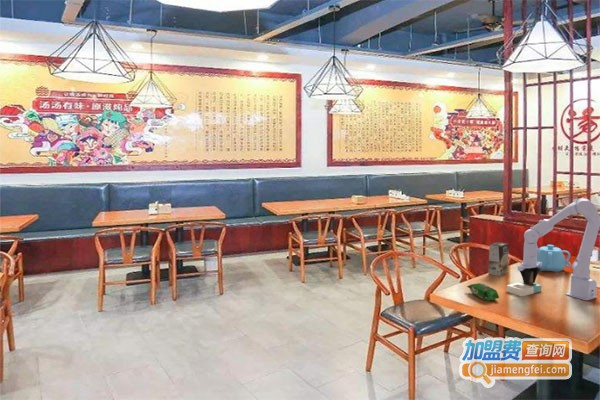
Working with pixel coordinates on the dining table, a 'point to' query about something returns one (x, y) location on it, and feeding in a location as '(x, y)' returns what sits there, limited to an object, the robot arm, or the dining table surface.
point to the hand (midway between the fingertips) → (529, 283)
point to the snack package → (483, 291)
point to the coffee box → (498, 258)
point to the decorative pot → (552, 258)
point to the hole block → (523, 288)
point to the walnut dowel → (531, 280)
